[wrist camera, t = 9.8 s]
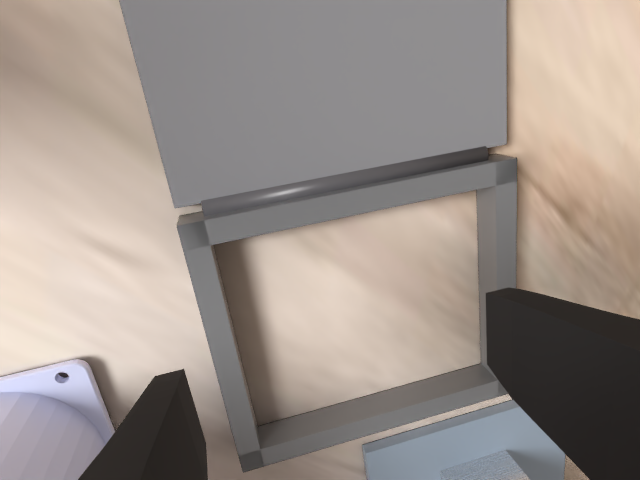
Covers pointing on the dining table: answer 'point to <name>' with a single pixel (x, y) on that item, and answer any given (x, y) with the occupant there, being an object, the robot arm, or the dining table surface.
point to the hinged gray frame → (327, 158)
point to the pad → (466, 446)
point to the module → (486, 469)
